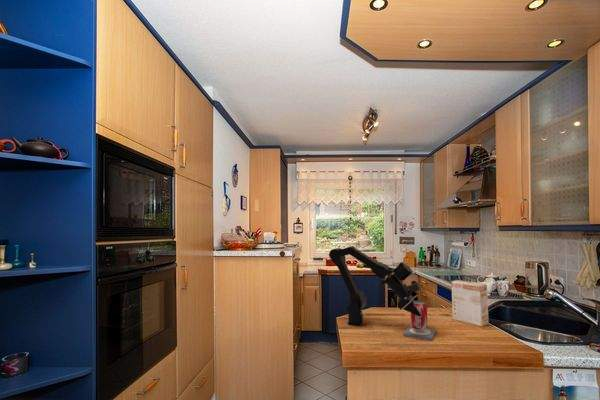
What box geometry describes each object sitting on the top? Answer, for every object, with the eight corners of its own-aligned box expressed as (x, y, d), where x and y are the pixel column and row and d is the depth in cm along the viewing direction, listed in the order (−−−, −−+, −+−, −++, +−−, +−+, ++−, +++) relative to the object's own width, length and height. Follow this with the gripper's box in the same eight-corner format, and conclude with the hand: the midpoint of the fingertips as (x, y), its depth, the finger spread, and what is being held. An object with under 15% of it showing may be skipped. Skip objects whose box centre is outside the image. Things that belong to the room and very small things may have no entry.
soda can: (430, 331, 149) (430, 303, 150) (415, 331, 148) (415, 304, 149) (422, 326, 156) (421, 300, 157) (408, 327, 155) (407, 300, 156)
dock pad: (403, 335, 150) (403, 332, 150) (409, 328, 160) (409, 325, 161) (431, 340, 144) (431, 337, 144) (436, 332, 154) (436, 329, 154)
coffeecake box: (489, 324, 165) (487, 283, 166) (481, 327, 161) (479, 285, 162) (459, 316, 177) (458, 279, 178) (452, 319, 173) (450, 281, 174)
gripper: (404, 279, 148) (431, 308, 141) (414, 272, 164) (438, 298, 157) (386, 295, 151) (412, 324, 145) (398, 287, 167) (421, 313, 161)
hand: (422, 314), depth 152 cm, fingers closed on soda can, 7 cm apart
